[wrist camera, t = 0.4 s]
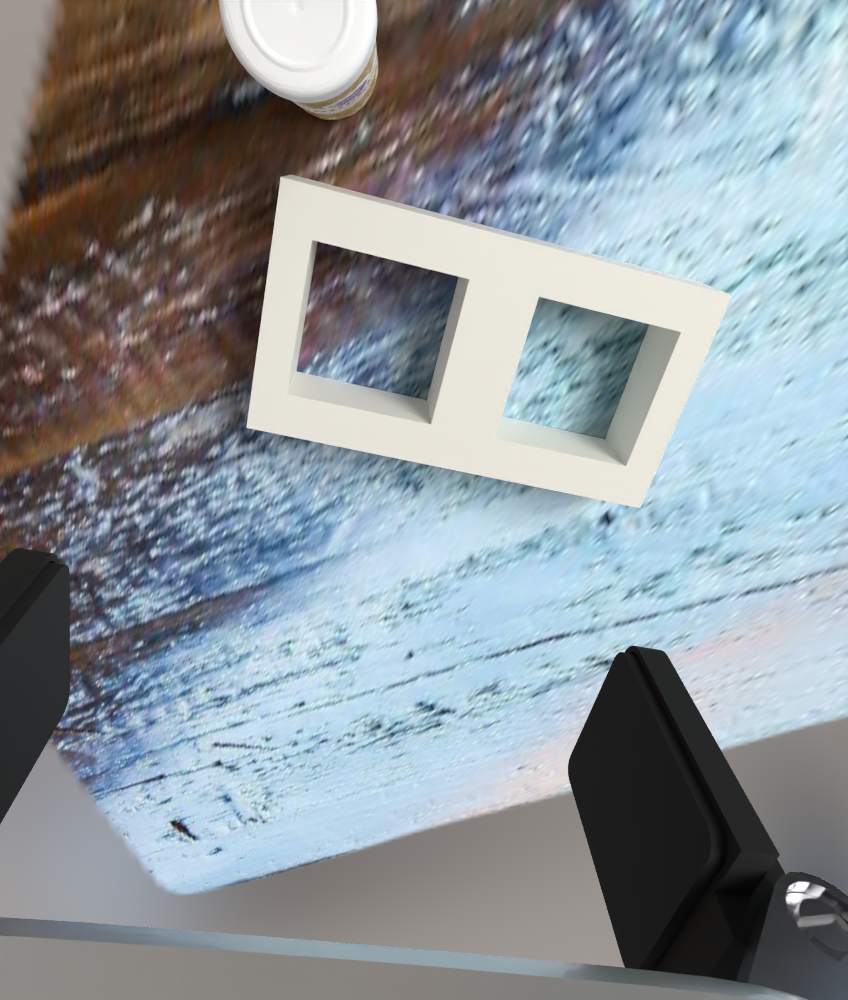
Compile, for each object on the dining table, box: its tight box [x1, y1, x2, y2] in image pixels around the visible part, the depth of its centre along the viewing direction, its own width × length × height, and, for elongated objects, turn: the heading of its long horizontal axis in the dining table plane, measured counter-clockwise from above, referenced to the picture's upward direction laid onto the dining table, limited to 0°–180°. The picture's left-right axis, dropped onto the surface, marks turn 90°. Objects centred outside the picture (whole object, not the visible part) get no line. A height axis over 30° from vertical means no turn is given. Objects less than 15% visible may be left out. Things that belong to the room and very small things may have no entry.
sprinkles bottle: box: [219, 0, 378, 120], centre depth 25 cm, size 5×5×13 cm
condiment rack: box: [246, 175, 732, 508], centre depth 36 cm, size 12×22×4 cm, turn 76°
